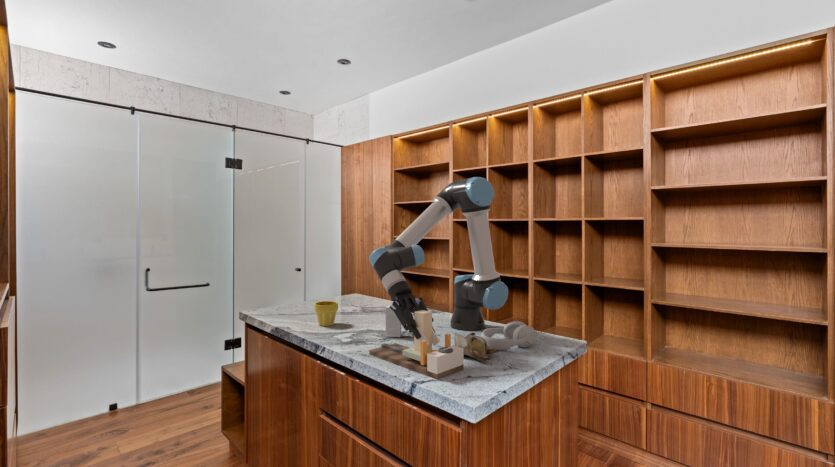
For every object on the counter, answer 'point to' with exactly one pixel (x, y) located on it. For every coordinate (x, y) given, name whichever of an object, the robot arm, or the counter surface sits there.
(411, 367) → the rail base
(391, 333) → the skincare box
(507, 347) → the headphones
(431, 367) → the cream rectangular block
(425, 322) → the upright wooden block
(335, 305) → the plant pot
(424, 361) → the frame
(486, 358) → the ceramic sculpture
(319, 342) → the counter surface
